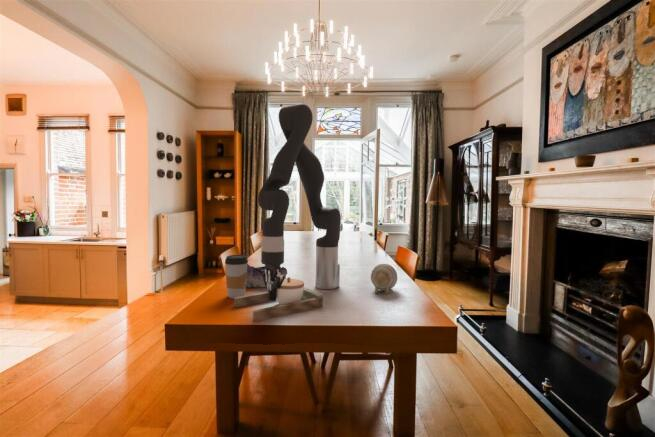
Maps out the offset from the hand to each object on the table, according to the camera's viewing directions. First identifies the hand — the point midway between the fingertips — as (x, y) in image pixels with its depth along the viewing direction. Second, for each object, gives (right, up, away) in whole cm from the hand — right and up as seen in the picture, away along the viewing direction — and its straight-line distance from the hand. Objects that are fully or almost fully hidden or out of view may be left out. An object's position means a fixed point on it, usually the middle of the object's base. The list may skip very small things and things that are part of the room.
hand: (272, 300), depth 111 cm
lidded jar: (+5, -3, +4) cm, 7 cm away
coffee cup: (-15, -2, +13) cm, 20 cm away
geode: (-9, -1, +28) cm, 29 cm away
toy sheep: (+42, -2, +23) cm, 48 cm away
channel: (+2, -3, +2) cm, 4 cm away
